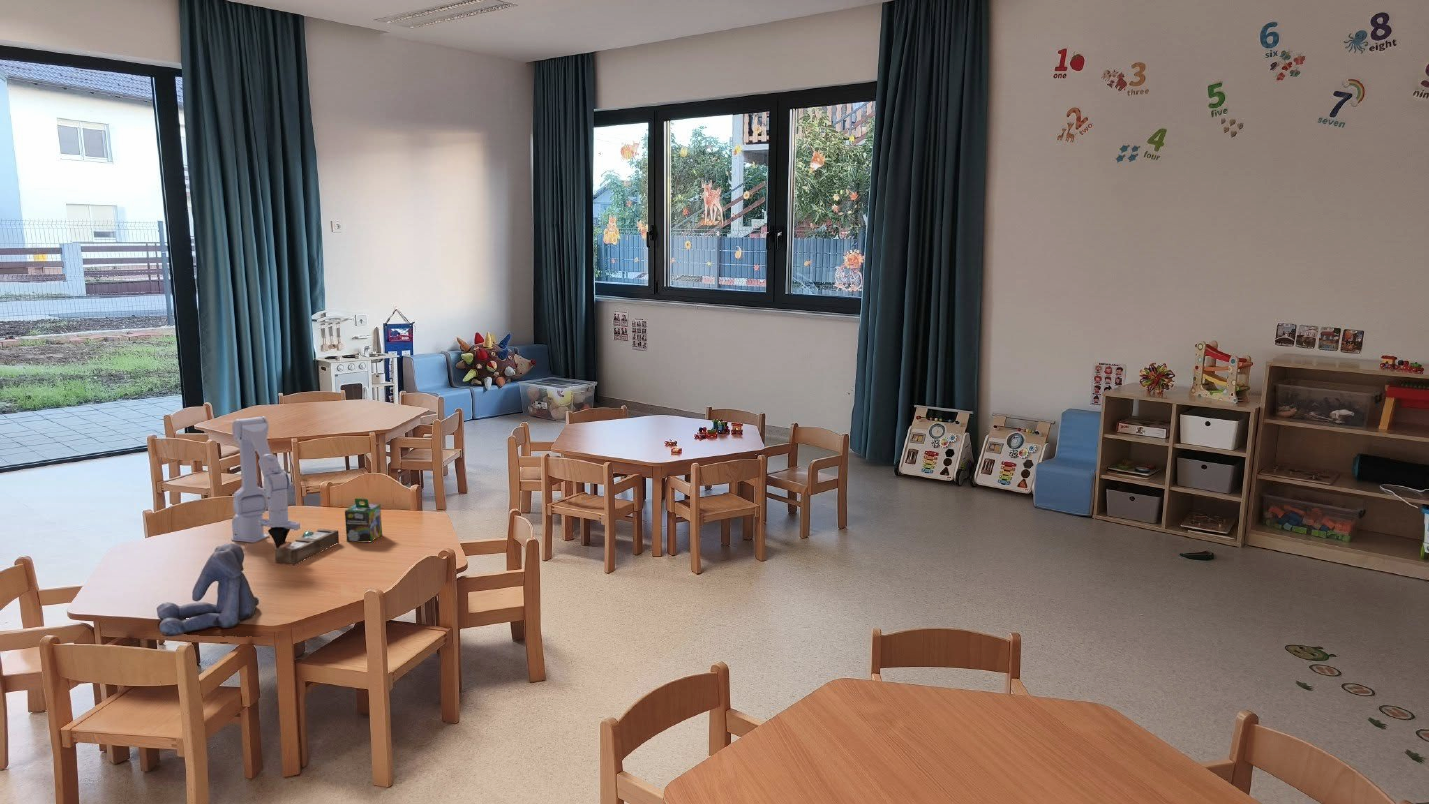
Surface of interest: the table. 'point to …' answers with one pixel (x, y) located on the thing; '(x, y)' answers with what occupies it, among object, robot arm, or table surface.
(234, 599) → the elephant
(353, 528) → the chalk box
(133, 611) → the table surface
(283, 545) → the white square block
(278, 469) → the robot arm
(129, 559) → the table surface
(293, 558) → the grey brown divided tray
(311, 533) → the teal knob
